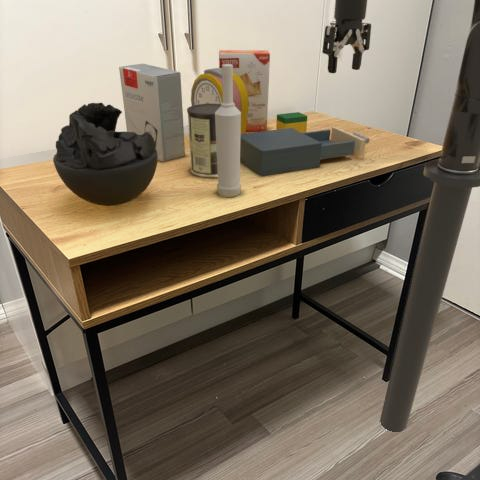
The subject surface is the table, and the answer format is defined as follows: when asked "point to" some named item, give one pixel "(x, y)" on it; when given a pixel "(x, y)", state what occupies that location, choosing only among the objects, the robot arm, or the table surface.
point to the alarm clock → (220, 92)
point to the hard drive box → (154, 107)
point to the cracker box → (251, 82)
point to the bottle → (228, 139)
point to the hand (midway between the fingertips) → (344, 71)
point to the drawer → (339, 142)
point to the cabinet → (279, 151)
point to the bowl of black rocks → (104, 157)
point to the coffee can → (203, 139)
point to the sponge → (292, 121)
